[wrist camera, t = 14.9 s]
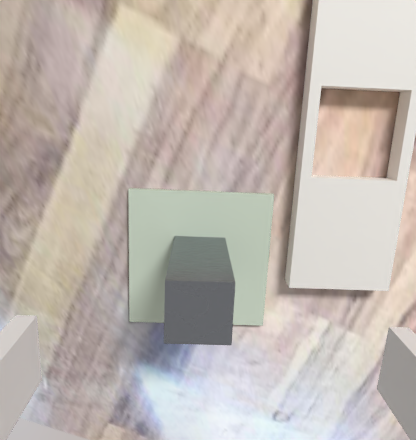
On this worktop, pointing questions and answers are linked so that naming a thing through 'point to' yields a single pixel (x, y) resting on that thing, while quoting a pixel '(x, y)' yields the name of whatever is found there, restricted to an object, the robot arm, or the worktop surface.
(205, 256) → the square block
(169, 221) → the pad
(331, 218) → the rail
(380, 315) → the worktop surface
